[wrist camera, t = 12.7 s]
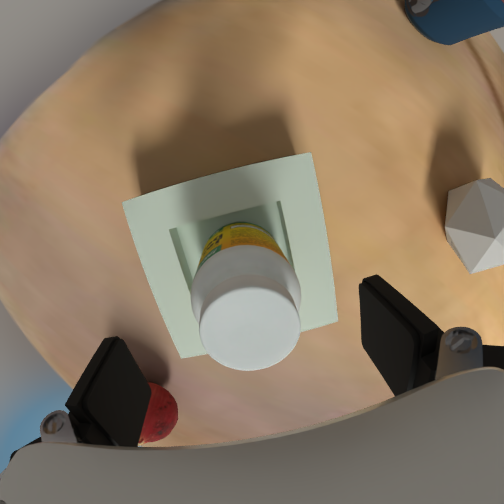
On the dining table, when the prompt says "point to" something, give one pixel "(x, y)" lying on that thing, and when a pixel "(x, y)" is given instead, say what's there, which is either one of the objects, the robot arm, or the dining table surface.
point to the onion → (159, 415)
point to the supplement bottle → (246, 298)
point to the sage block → (227, 211)
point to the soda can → (454, 18)
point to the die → (476, 224)
